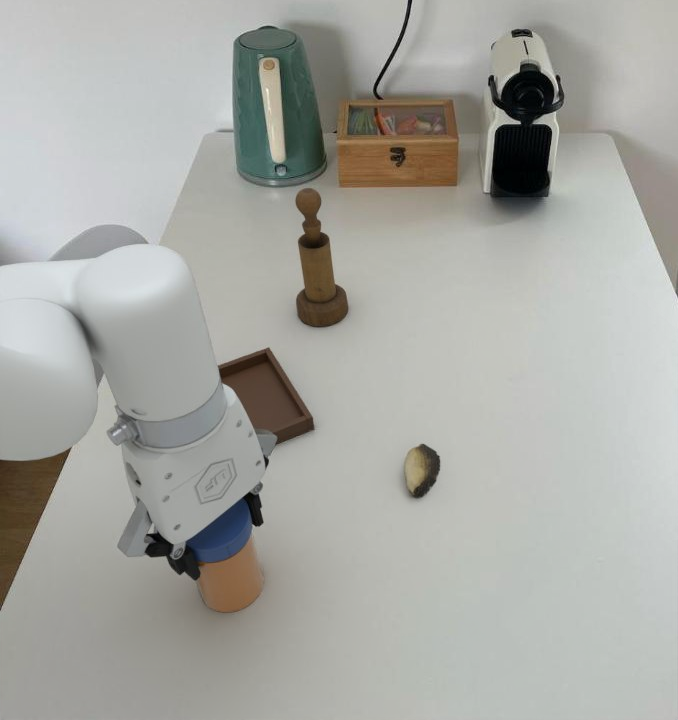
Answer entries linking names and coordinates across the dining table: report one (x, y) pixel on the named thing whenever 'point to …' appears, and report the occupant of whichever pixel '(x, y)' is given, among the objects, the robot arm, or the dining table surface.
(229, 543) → the lid
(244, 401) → the tray
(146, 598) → the dining table surface
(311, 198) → the mortar and pestle
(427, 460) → the nut kernel
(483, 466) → the dining table surface
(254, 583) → the jar
